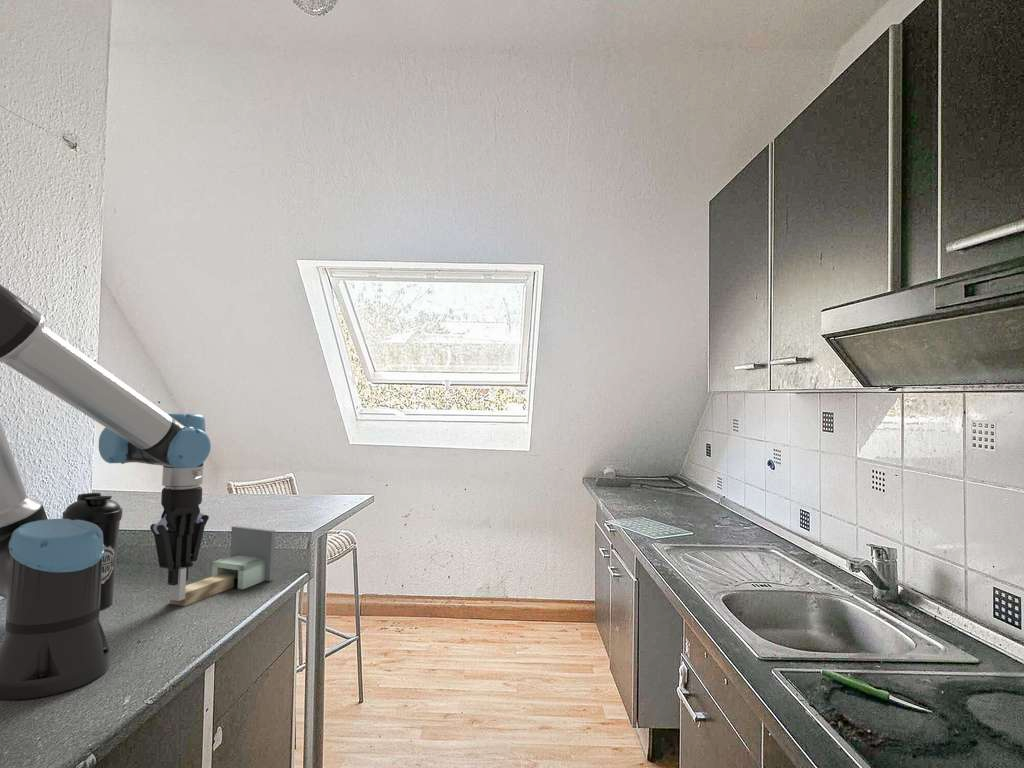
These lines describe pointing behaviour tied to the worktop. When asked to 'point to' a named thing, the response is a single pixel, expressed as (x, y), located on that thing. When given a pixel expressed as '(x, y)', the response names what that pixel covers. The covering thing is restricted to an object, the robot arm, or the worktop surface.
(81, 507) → the water bottle
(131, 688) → the worktop surface
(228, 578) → the slat
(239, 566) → the end cap
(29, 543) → the robot arm
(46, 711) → the worktop surface
